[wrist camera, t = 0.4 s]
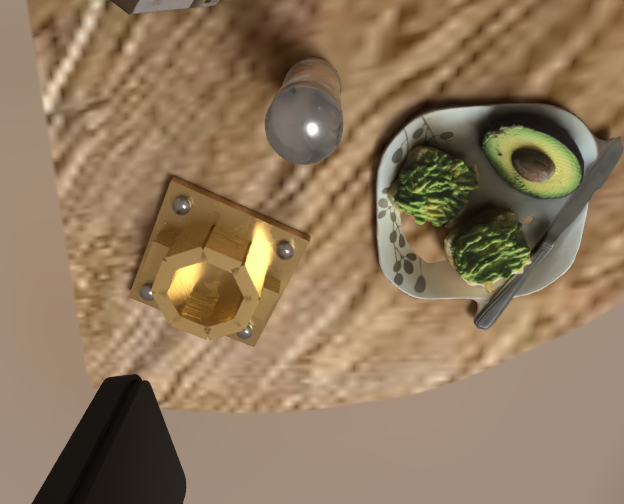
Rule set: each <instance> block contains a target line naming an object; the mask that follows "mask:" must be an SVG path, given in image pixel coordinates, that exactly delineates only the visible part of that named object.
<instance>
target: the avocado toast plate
mask: <svg viewBox="0 0 624 504" xmlns="http://www.w3.org/2000/svg"><path fill="white" fill-rule="evenodd" d="M451 137H452V139H450V140H447V139H448V138H451ZM622 153H623V147H622V145H621V136H620V137H616V138H612V139H610V140H601V139H599V138H597V137H596V136H595V135H594V134H593V133H592V132H591V131H590V129H589V128H588V127H587V126H586V125H585V123H584V122H583V121H582V120H581V119H580V118H578V117H577V116H576V115H575V114H573V113H570V112H569V111H568V110H566V109H564V108H562V107H559V106H555V105H550V104H544V103H521V102H515V101H509V102H501V103H449V104H445V105H437V106H431V107H427V108H424V109H422V110H420V111H418V112H417V113H415V114H414V115H413V116H411V117H410V118H409V119H408V120H407V121H406V122H405V123H404V124H403V125H402V126H401V127H400V128H399V129H398V130H397V131H396V132H395V133H394V134H393V136H392V137H391V139H390V140H389V142H388V143H387V145H386V146H385V148H384V150H383V152H382V154H381V157H380V160H379V164H378V167H377V171H376V178H375V195H376V224H377V229H376V233H377V235H376V238H377V249H378V258H379V265H380V267H381V269H382V271H383V273H384V274H385V276H386V277H387V278H388V280H389V282H391V283H392V284H394V285H395V286H396V287H397V288H399V289H400V290H402V291H403V292H404V293H405V294H406V295H409V296H410V297H416V298H421V299H453V298H467V299H472V300H475V301H476V302H477V306H478V307H477V312H476V314H475V316H474V324H475V325H476V327H477V328H478V329H481V330H487V329H488V328H490V327H491V326H492V325H493V324H494V323H495V322H496V320H497V319H498V318H499V316H500V315H501V314H502V312H503V311H504V309H505V308H506V307H507V305H508V304H509V302H510V301H511V300H512V298H514V297H518V296H523V295H527V294H531V293H534V292H536V291H539V290H541V289H543V288H544V287H546V286H548V285H549V284H551V283H552V282H553V281H555V280H556V279H558V278H559V277H560V276H561V275H563V274H564V273H565V272H566V271H567V270H568V269H569V268H570V266H571V265H572V263H573V262H574V260H575V256H576V254H577V251H578V249H579V246H580V242H581V238H582V233H583V228H584V223H585V219H586V214H587V208H588V201H589V200H590V199H591V197H592V195H593V193H594V192H595V191H596V190H597V189H600V188H601V187H602V185H603V184H604V183H605V181H606V180H607V179H608V177H609V176H610V174H611V173H612V171H613V169H614V168H615V166H616V164H617V163H618V161H619V159H620V157H621V155H622ZM400 213H402V214H408V215H412V216H414V217H415V218H416V220H415V223H417V224H418V225H422V224H424V223H425V221H426V220H427V221H429V222H431V223H432V225H434V226H436V227H439V226H445V227H446V228H447V230H448V232H449V234H448V235H447V236H446V238H445V239H444V242H445V243H444V253H445V256H446V258H447V260H444V261H441V262H436V263H426V262H425V261H424V260H422V259H421V258H420V257H419V256H418V255H417V254H416V253H415V252H414V251H413V249H412V248H411V247H410V246H409V244H408V243H407V241H406V238H405V236H404V234H403V231H402V227H401V218H400ZM527 216H531V217H533V221H532V222H531V223H530V224H524V223H523V219H524V218H525V217H527Z"/></svg>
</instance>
